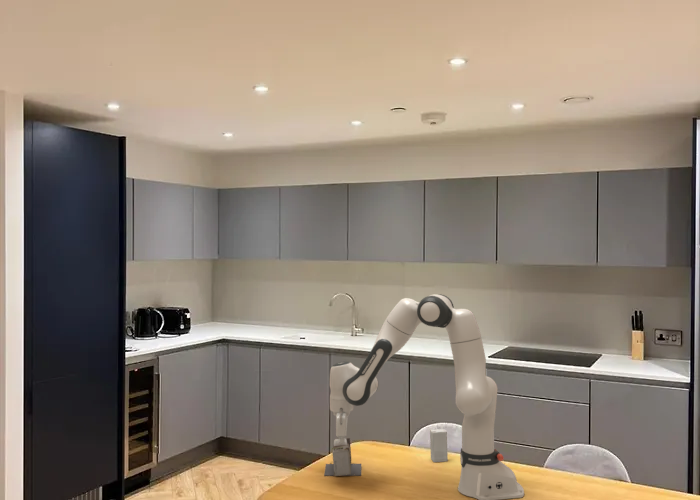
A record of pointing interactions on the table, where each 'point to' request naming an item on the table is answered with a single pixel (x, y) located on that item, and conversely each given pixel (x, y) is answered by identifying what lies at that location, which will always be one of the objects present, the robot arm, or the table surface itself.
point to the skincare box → (438, 445)
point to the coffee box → (342, 457)
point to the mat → (354, 471)
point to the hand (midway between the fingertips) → (342, 441)
